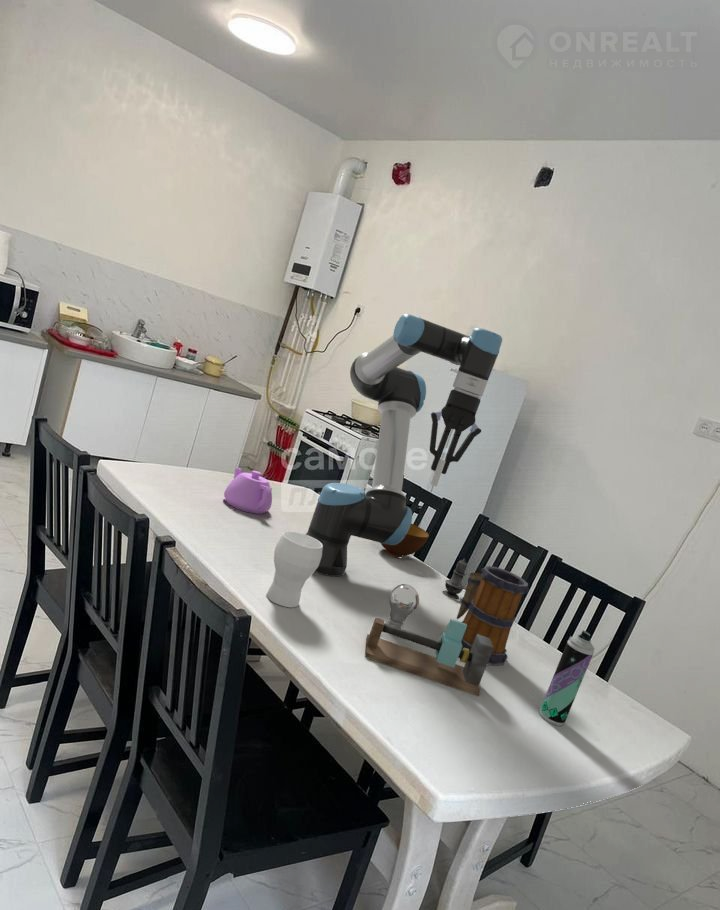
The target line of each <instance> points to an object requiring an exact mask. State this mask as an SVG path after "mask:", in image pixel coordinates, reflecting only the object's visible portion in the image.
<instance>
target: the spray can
mask: <svg viewBox="0 0 720 910" xmlns="http://www.w3.org/2000/svg"><path fill="white" fill-rule="evenodd" d="M591 642H592V640H591V634H590V633H589V632H588V631H586V630H581V633H579V634H577V636H569V638H568V640H567V641H566V645H565V647H564V650H563V652H562V654H561V656H560V659H559V661H558V664H557V666H556V669H555V672H554V674H553V677H552V678H551V681H550V683H549V687H548V689H547V691H546V693H545V695H544V699H543V701H542V703H541V705H540V707H539V711H538V714H539V716H540V717H541V718H542V719H543V720H544V721H546V722H547V723H549V724H551V725H554V726H558V727H563V726H564V725H565V723H566V721H567V718H568V716H569V713H570V711H571V710H572V709H571V708H572V706H573V704H574V702H575V699H576V697H577V694H578V691H579V689H580V687H581V685H582V682H583V679H584V677H585V675H586V672H587V670H588V667H589V665H590V663H591V660H592V659H593V656H594V653H595V652H594V651H595V646H594V645H593V644H592V643H591Z"/></svg>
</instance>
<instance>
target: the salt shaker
mask: <svg viewBox="0 0 720 910" xmlns="http://www.w3.org/2000/svg"><path fill="white" fill-rule="evenodd" d="M467 567H468V563H467V562H466V558H463V559H461V560H458V561H457V563H456V567H455V569H453V574H452V577H451V578H450V579H445V584H444V585H445V586H444V587H445V590H442V591H441V592H442V594H443V595H444V596H446V597H448V598H450V599H452V600H460V596H459V594H460V593H462V592H463V590H465V587H464V586H463V585H462V581H463V578H464V576H466V573H465V572H466V570H467Z"/></svg>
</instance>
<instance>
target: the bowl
mask: <svg viewBox="0 0 720 910" xmlns="http://www.w3.org/2000/svg"><path fill="white" fill-rule="evenodd" d="M429 537H430V535H429V532H427V531H426V530H424V529H423V528H421V527H419V526H417V525H416V524H414V523H411V525H410V528H409V530H408V532H407V534H406V536H405V537H404V539H403V540H402V541H401V542H400V543H398V544H396V545H389V544H381V543H380V545H381V546H382V547H383V548H384V552H385V554H387V553H388V554H389V556H390V557H393V556H394V557H393V558H396V557H402V558H403V556H409V555H412V554H414V553H417V552H418V551H420V550H421V549H422V547H423V546H424V545H425V544H426V543H427V541H428V539H429ZM388 554H387V555H388Z"/></svg>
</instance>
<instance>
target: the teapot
mask: <svg viewBox="0 0 720 910" xmlns="http://www.w3.org/2000/svg"><path fill="white" fill-rule="evenodd" d="M272 490H273V488H272V487H271V485H270V482H269V480H268V478H267V479H266V478H265V477H263V476H262V472H260V471H257V470H251V472H242V468H240V467H235V472H234V475H233V479H232V481H230V482H229V484H228V485H227V486H226V488H225V490H224V494H223V496H224V499H225V501H226V504H228V505H229V506H231V507H233V508H235V509H237V510H240V511H242V512H246V513H250V514H255V515H256V514H257V515H259V514H260V515H261V514H265V513H266V512H268V511H269V510H270V509H271V508H272V503H273V493H272Z"/></svg>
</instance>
